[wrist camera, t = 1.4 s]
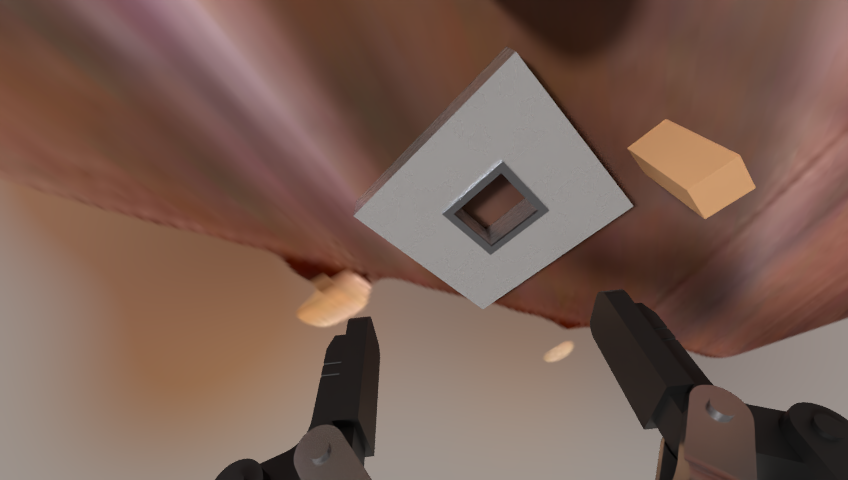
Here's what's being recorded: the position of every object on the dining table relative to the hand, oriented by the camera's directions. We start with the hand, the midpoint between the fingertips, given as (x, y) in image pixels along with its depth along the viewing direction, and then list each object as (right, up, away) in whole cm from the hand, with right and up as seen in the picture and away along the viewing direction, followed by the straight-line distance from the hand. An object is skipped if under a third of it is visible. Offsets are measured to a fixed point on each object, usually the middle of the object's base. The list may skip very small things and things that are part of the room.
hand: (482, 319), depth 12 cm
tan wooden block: (+21, +12, +23) cm, 33 cm away
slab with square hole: (+5, +7, +25) cm, 26 cm away
